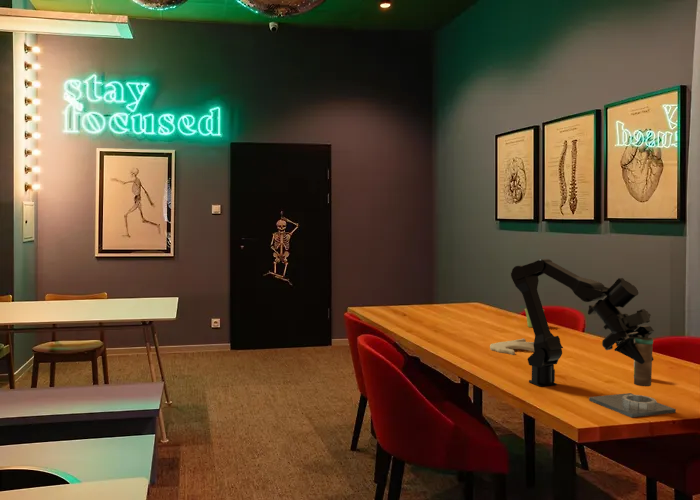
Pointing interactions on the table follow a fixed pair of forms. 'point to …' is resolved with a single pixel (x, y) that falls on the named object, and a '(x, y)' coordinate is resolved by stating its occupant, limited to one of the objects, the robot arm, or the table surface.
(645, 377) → the travel tumbler
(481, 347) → the table surface
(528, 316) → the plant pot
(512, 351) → the hand model
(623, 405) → the hub
